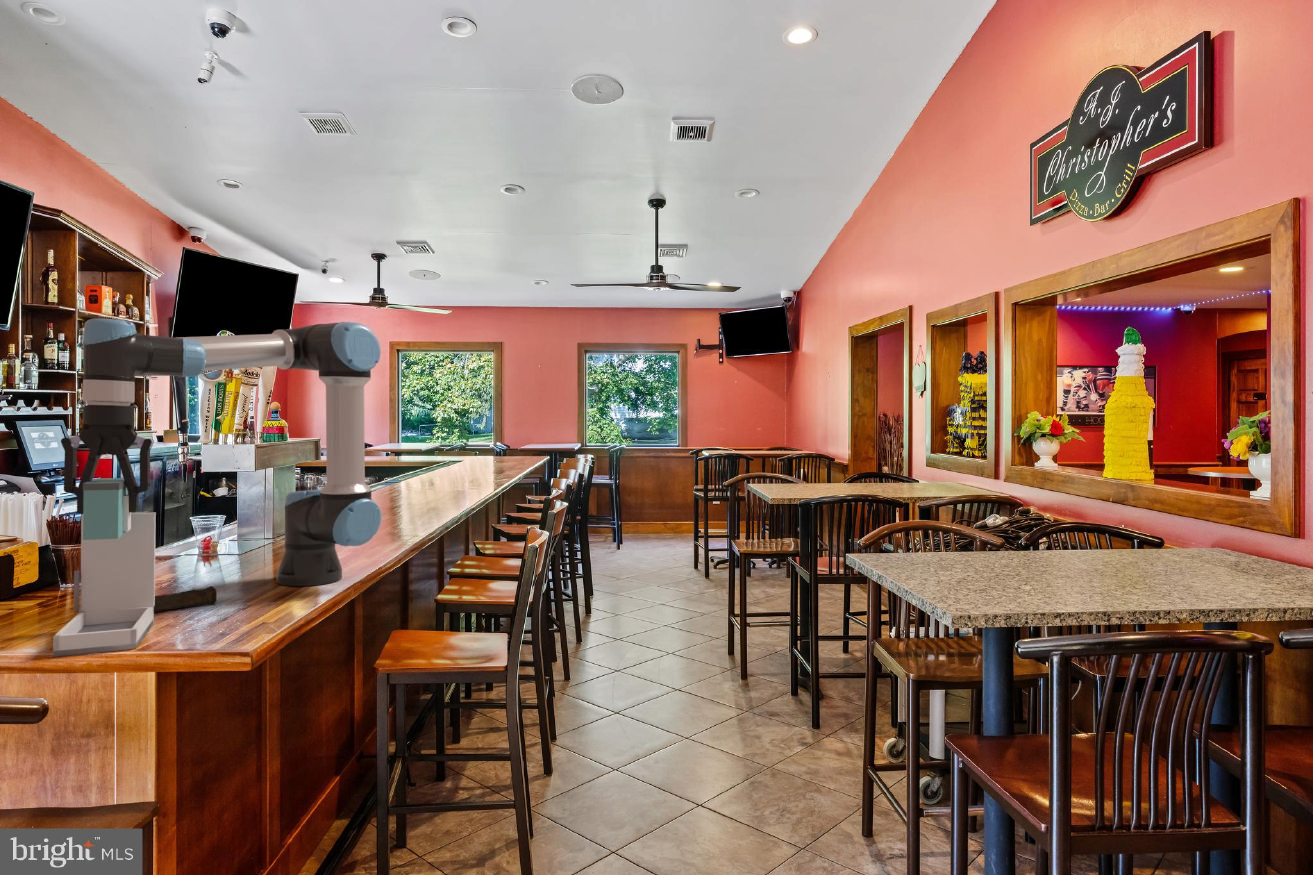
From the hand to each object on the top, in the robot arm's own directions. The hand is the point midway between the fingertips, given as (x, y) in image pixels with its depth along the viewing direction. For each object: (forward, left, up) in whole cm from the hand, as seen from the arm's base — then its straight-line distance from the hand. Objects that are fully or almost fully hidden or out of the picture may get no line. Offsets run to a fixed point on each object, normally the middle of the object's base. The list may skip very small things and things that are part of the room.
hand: (107, 530), depth 131 cm
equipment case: (0, 0, -20) cm, 20 cm away
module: (0, 0, -1) cm, 1 cm away
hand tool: (-7, -18, -21) cm, 28 cm away
